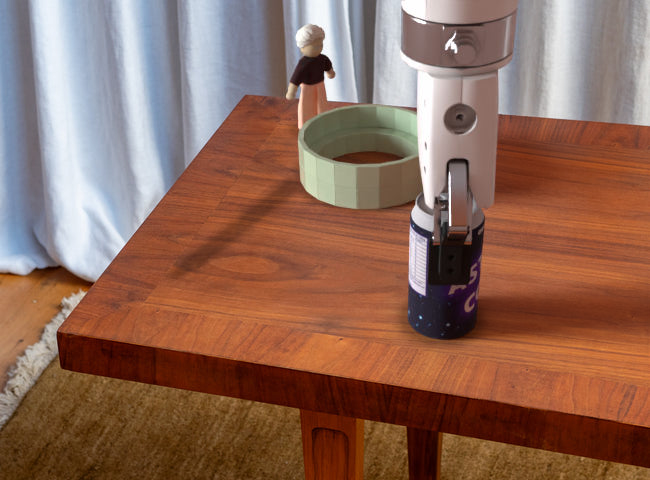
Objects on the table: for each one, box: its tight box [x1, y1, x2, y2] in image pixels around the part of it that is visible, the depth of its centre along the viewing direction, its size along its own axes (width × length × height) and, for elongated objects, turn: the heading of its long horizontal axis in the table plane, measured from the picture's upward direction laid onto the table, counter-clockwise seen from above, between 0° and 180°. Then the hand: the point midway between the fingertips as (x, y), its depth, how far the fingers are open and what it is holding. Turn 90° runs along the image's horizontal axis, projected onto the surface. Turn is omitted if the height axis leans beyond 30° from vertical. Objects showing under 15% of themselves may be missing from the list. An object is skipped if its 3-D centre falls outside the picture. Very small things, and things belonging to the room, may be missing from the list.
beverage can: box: [407, 191, 486, 340], centre depth 70 cm, size 6×6×12 cm
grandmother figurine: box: [285, 23, 337, 130], centre depth 100 cm, size 8×4×13 cm, turn 150°
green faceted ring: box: [297, 103, 424, 210], centre depth 92 cm, size 14×14×6 cm
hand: (445, 257), depth 70 cm, fingers closed on beverage can, 5 cm apart
